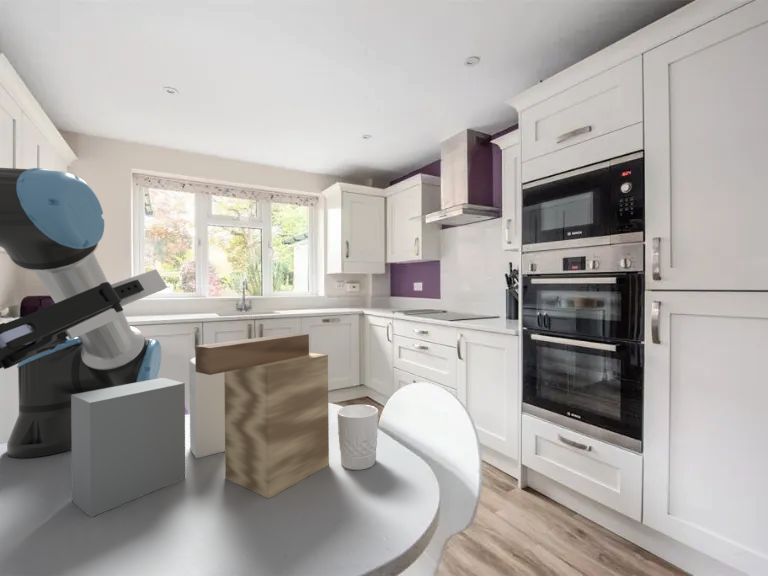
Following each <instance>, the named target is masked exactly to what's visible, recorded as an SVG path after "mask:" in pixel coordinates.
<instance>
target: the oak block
mask: <svg viewBox="0 0 768 576" xmlns="http://www.w3.org/2000/svg"><path fill="white" fill-rule="evenodd" d="M224 377H225V451H224V454H225V455H224V461H225V462H224V469H225V471H224V476H225V479H226V480H229V481H231V482H234V483H235V484H237V485H239V486H242V487H244V488H245V489H248V490H250V491H251V492H255V493H257V494H259V495H261V496H262V497H264V498H266V499H271V498H272V497H275V496H276V495H278V494H279V493H281V492H284V491H285V490H288V488H290V487H292V486H293V485H295V484H297V483H299V482H301V481H303V480H305V479H307V478H308V477H310V476H312V475H314V474H315V473H317V472H319V471H320V470H322V469H324V468H325V467H328V466H329V465H330V451H329V448H330V446H329V445H330V443H329V442H330V440H329V439H330V437H329V433H330V432H329V430H330V428H329V425H330V424H329V355H328V354H324V353H323V354H322V353H315V352H309V355H307V356H302V357H297V358H292V359H287V360H282V361H277V362H272V363H267V364H262V365H257V366H252V367H247V368H242V369H237V370H233V371H228V372H224Z"/></svg>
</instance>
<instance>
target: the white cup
mask: <svg viewBox="0 0 768 576" xmlns="http://www.w3.org/2000/svg"><path fill="white" fill-rule="evenodd" d="M336 412H337V428H338V429H337V431H338V444H339V451H340V463H341V466H342V467H344V468H345V469H348V470H352V471H353V470H354V471H362V470H366V469H370V468H371V467H373V466H374V465H375V463H376V462H377V446H378V429H379V428H378V425H379V409H378V408H377V407H376V406H373V405H369V404H350V405H345V406H342V407H340V408H338V410H337V411H336Z"/></svg>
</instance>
